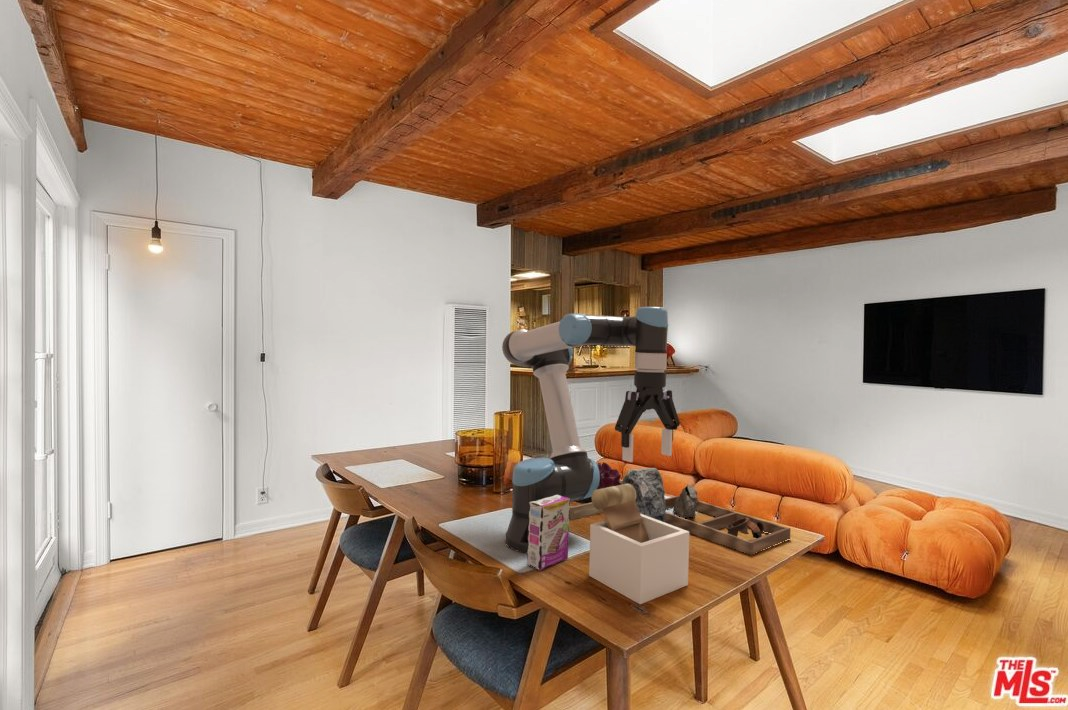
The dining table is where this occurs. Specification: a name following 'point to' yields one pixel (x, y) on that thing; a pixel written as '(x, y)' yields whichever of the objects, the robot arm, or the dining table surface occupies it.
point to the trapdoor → (621, 510)
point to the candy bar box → (548, 531)
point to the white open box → (640, 559)
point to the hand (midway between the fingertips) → (647, 458)
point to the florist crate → (584, 510)
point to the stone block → (648, 491)
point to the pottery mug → (742, 527)
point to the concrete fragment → (686, 502)
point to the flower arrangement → (606, 478)
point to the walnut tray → (723, 519)
